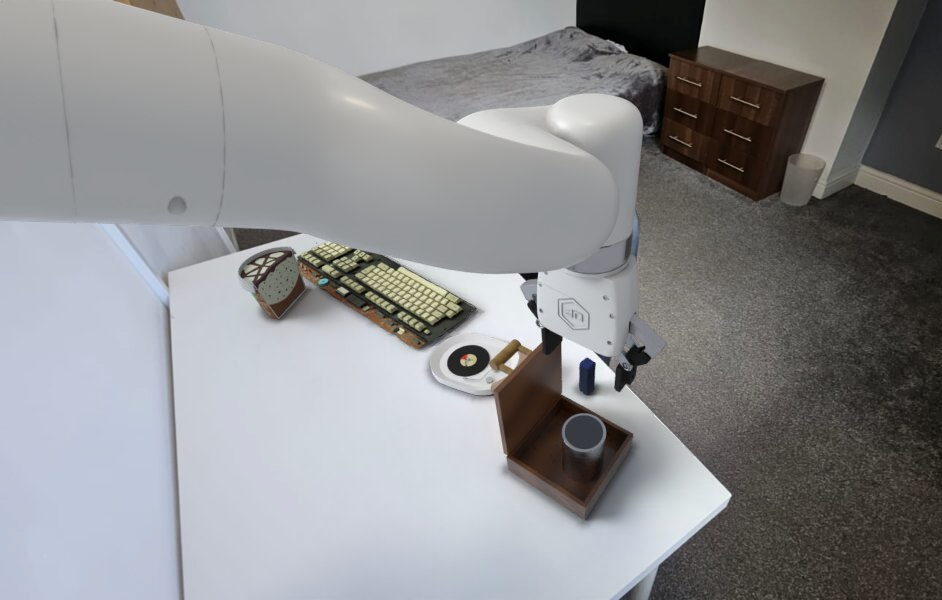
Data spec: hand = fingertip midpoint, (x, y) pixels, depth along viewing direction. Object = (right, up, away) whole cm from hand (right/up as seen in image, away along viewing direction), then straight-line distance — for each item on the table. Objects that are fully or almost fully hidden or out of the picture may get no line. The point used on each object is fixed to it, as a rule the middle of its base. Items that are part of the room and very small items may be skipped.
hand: (587, 364), depth 54 cm
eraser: (0, -8, +25) cm, 26 cm away
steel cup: (-1, -16, +14) cm, 22 cm away
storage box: (-2, -16, +15) cm, 22 cm away
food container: (-62, +7, +40) cm, 74 cm away
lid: (-7, -5, +11) cm, 14 cm away
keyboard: (-44, +10, +44) cm, 63 cm away
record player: (-17, -5, +28) cm, 33 cm away
